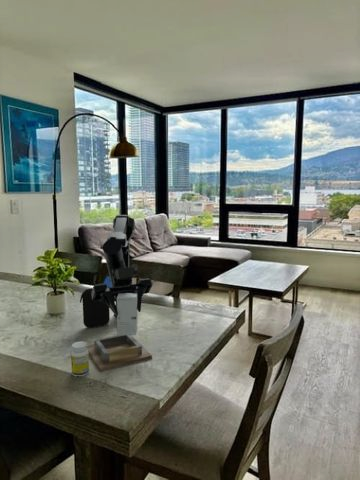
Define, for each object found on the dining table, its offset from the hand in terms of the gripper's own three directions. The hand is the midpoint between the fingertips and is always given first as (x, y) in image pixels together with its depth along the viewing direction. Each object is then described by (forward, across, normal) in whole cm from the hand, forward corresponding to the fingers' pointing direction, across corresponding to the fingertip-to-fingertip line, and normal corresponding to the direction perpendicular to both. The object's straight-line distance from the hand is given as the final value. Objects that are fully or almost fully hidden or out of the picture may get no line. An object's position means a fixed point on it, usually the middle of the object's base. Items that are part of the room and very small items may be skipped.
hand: (128, 313), depth 109 cm
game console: (-34, +7, +55) cm, 65 cm away
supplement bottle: (+13, -16, +6) cm, 21 cm away
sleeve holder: (+8, -3, +11) cm, 14 cm away
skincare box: (+4, 0, +6) cm, 7 cm away
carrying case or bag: (-9, -4, +29) cm, 30 cm away
